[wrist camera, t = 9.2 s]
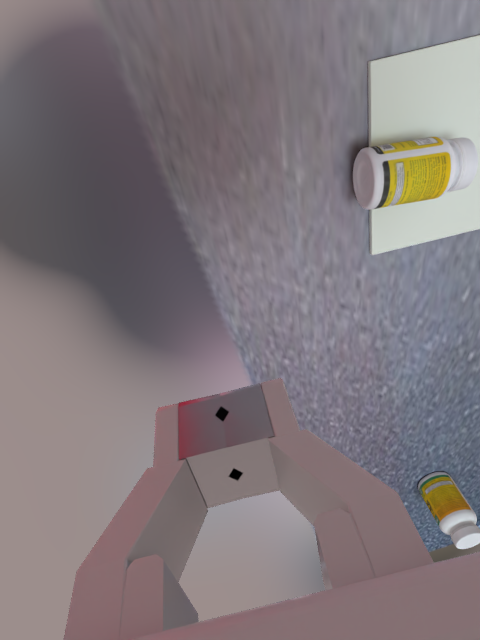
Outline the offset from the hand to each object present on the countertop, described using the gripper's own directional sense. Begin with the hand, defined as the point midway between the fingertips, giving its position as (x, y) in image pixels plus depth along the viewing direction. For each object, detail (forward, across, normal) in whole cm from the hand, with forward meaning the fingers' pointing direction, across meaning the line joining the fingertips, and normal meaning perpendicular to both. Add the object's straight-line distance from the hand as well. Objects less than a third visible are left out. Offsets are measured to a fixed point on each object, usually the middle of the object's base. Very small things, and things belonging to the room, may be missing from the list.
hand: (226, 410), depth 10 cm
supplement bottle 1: (+24, -13, +4) cm, 28 cm away
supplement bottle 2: (+27, -25, +55) cm, 66 cm away
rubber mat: (+27, -21, +4) cm, 35 cm away
